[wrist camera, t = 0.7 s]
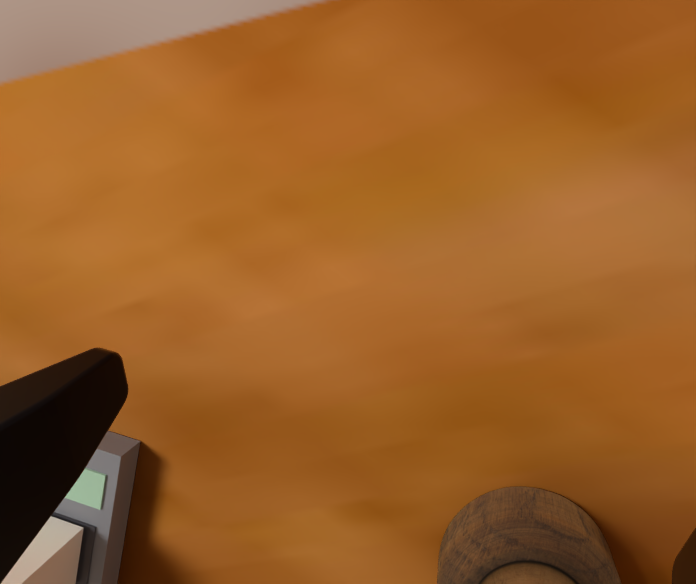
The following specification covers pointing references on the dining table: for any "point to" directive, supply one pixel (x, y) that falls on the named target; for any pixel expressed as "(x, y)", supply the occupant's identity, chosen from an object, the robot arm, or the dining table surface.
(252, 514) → the dining table surface
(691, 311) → the dining table surface
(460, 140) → the dining table surface
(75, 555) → the white block
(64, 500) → the breaker panel
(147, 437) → the dining table surface
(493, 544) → the brown statuette
